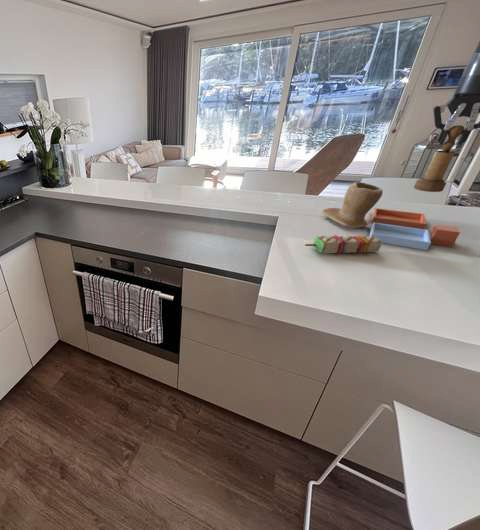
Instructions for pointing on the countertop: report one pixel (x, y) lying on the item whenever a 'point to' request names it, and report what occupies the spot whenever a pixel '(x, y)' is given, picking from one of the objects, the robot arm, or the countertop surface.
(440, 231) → the terracotta block
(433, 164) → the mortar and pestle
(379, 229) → the light blue tray
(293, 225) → the countertop surface
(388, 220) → the terracotta tray
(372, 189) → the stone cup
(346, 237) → the skewer
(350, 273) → the countertop surface
